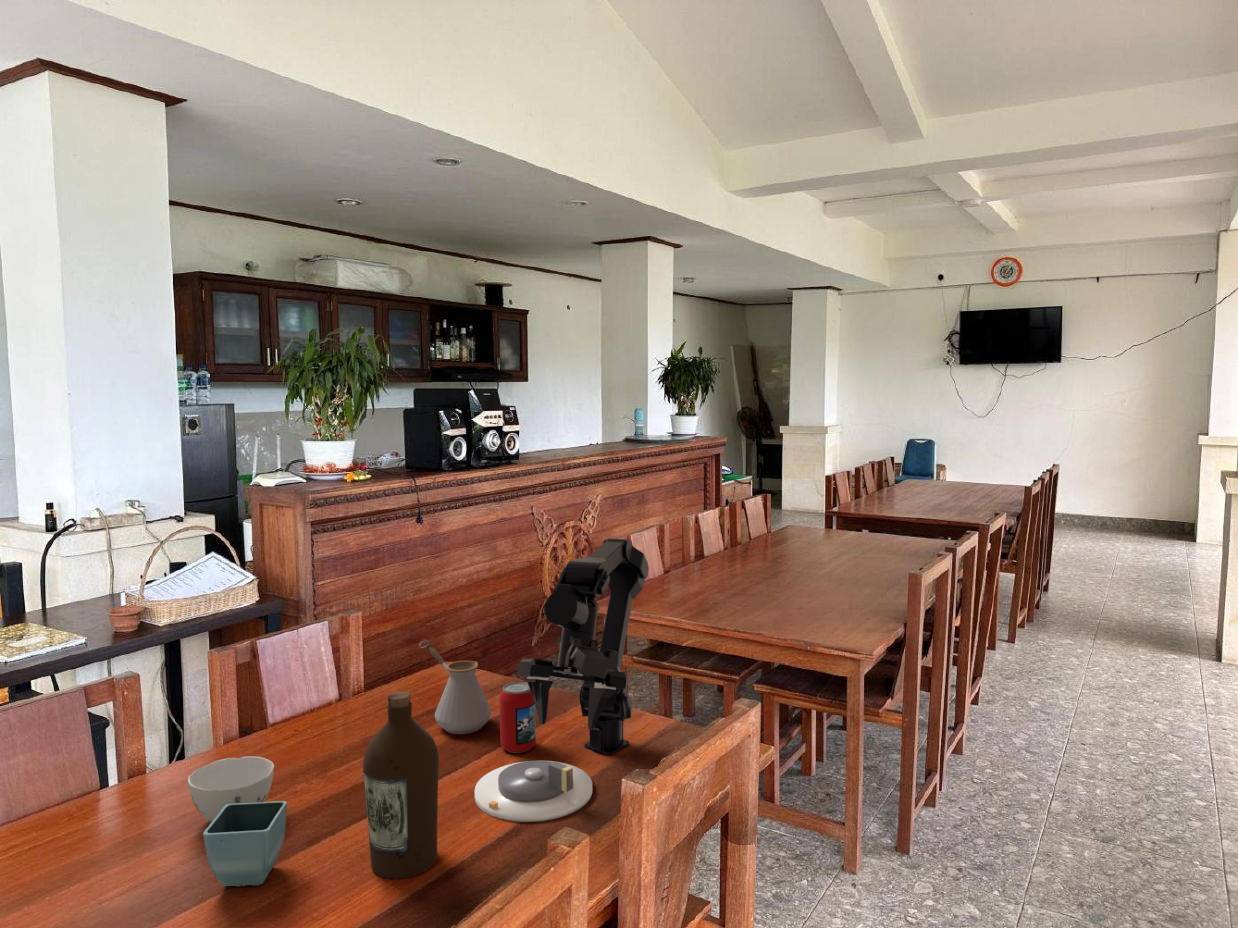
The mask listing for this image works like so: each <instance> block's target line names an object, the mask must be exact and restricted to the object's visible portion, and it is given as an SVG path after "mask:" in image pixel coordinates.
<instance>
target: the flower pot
mask: <svg viewBox="0 0 1238 928" xmlns="http://www.w3.org/2000/svg"><path fill="white" fill-rule="evenodd" d="M287 808H288V801H286V800H277V801H264V802H256V803H235V804H227V805H225V806H224V807H223V809H222V810H221V811H220V813H219V814H218V815H217V816H216V818H215V819H214V820H213V821H212V822H211V823H209V825H208V826H207V827H206V828H205V830H204V831H203V833H202V836H203V841H204V847H205V850H206V856H207V860H208V861H207V862H208V864H209V867H210V870H211V873H213V875H214V877H215V878H216V880H217V881H219V883H220V884H221V885H223V886H224V887H225V886H236V887H239V886H238V885H243V886H242V887H246V886H245V885H252V886H261V885H262V884H263V883H264V882H266V881H265V880H267V877H268V876H269V874H270V872H271V871H272V869H273V867H274V865H275V863H276V861H277V860H278V857H279V854H280V851H281V849H282V846H283V843H284V838H285V834H286V824H287V823H286V822H287V821H286V820H287ZM260 884H261V885H260Z"/></svg>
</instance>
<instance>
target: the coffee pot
mask: <svg viewBox="0 0 1238 928" xmlns="http://www.w3.org/2000/svg"><path fill="white" fill-rule="evenodd" d="M422 643H423V644H424V646H421V644H422ZM432 645H433V644H430V642H429V641H428V640H426V639H423V640H422V641H421V642H420V643H419V645H418V646H419V648H421V649H425V648H426V650H429V652H430V654H431V656H432V657H433V658H434V659H435V660H436V661H437V662H438V663H439V664H440V665H441V666H442V667H443V668H444V670H445V671H446V672H447V673H448V674H449V677H448V680H447V682H446V685H445V687H444V690H443V692H442V695H441V698H440V699H439V702H438V705H437V707H436V709H435V713H434V719H435V721H436V724H438V725H439V726H440V727H441V728H442V729H444V731H445V732H447V733H449V734H453V735H466V734H468V735H469V734H472V733H475V732H478V731H479V730H481V729H482V728H483V726H485V725H486V724H487V723H488V722H489V720H490V718H491V715H492V710H493V709H492V708H491V706H490V703H489V701H488V699H487V697H486V695H485V692H484V691H483V688H482V686H481V685H480V682H479V680H478V678H477V676H476V670H477V669H478V667H479V663H478V661H474V660H458V661H453V662H452V661H451V662H450V663H448V664H447V662H446V661H445V660H444V659H443V657H442V656H441V655H440V653H439V652H438V650H436V649H435V648H434V647H433V646H432Z"/></svg>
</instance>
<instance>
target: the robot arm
mask: <svg viewBox="0 0 1238 928" xmlns="http://www.w3.org/2000/svg"><path fill="white" fill-rule="evenodd" d="M649 568H650V566H649V562H648V560H647V558H646V555H645V553H643V552H642V551H641V550H639V549H637V548H636V547H635V546H633V544H632V543H631V541H630V540H629V539H628V540H627V539H626V538H613V537H612V538H611V537H609V538H607V539H604V540H603V542H602V545H600V546H599V547H598V548H596V550H594V552H592V553H591V554H590V555H589V556H587V557H585V558H584V557H582V558H574V559H572V560H569V561H567V564H566V565H565V566H564V567H563V570H562V571H561V574H560V575H559V578H558V580H557V583H556V585H555V587H554V588H553V592H552V594H550V595H549V597H547V599H546V601H545V602H544V608H543V609H544V616H545V618H547V621H549V622H550V623H552V625H556V626H559V627H561V628H562V631H561V635H560V636H561V637H560V636H558V637H557V642H556V644H560V645H559V653H558V660H555V661H554V664H553V661H550V660H545V659H537V658H522V659H521V660H520V661H519V663H518V664H517V669H516V675H517V676H520V677H526V678H522V681H523V682H524V683H528V685H529V688H530V691H531V693H532V696H533V699H534V702H535V711H536V713H537V716H538V721H539V725H544V726H545V725H546V721H547V715H548V706H549V697H550V690H551V688H552V686H553V684H554V681H553V680H549V679H550V677H552V678H561V679H566V680H574V681H580V682H583V684H582V685H581V687H580V689H579V704H580V709H581V710H580V711H581V716H582V717H583V718H584V717H587V726H588V727H587V729H588V732H589V735H588V736H589V741H587V742H585V743H584V744H583V746H584V748H587V749H590V750H593V751H596V752H598V753H602V754H604V755H607V756H609V755H610V756H611V755H612V754H614V753H616V752H618V751H620V750H622V749H623V748H625V747H627V746H630V745H631V744H630V743H631V741H630V740H626V739H624V722H625V721H626V720H627V719H631V718H632V709H633V707H632V704H633V703H632V699H631V698H630V696H629V693H628V690H627V687H628V677H627V675H626V672H625V671H622V670H621V668H622V663H623V657H624V652H625V647H626V640H627V635H628V629H629V623H630V617H631V611H632V607H633V606H632V605H633V602H634V599H635V598H636V597H637V596H638V595H639V594H640V593H641V592H642V591H643V590H644V584H645V581H646V579H647V578H648V576H649ZM607 588H608V589H609V591H610V595H609V599H608V604H607V609H606V615H605V619H604V625H603V629H602V636H601V640H600V646H599V641H598V639H597V640H596V639H595V637H596V628H597V619H598V614H599V613H598V611H600V605H599V603H598V602H597V601H596V599H599V598H601V596H602V595H604V592H605V591H606V589H607ZM567 670H569V671H567Z"/></svg>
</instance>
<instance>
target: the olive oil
mask: <svg viewBox="0 0 1238 928" xmlns="http://www.w3.org/2000/svg"><path fill="white" fill-rule="evenodd" d="M411 697H412V696H411V692H407V691H396V692H392V693H390V694H389V695H387V702H388V703H387V705H386V706H387V708H386V709H387V710H386V711H387V722H386V723H385V724H384V725H383V726H382V728H381V729H380V730H378V732H377V733H376V734H375V735H374V737H372V739H371V740H370V741H369V743H368V745H367V747H366V749H365V752H364V757H363V760H362V776H363V783H364V792H365V804H366V814H367V815H366V816H367V827H368V841H369V857H370V866H371V870H372V872H373V873H374V874H376V875H377V876H380V877H382V878H386V879H391V880H393V879H397V880H398V879H407V878H411V877H415V876H417V875H420V874H423V873H424V872H426V871H428V870H429V869H430V868H431V867H432V866H433V865H434V864H435V862H436V861H437V859H438V802H439V801H438V798H439V769H440V768H439V765H440V761H439V759H440V757H439V751H438V747H437V744H436V742H435V739H434V738H433V736H432V735H431V734H430V733H429V732H428V731H427V730H426V729H424V727H422V726H421V725H419V723H417V721H415V719H413V717H412V712H413V711H412V709H413V707H412V705H413V704H412V702H411Z"/></svg>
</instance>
